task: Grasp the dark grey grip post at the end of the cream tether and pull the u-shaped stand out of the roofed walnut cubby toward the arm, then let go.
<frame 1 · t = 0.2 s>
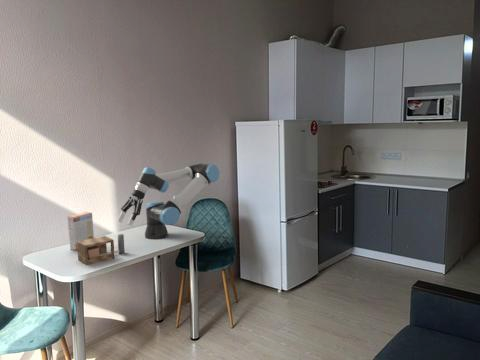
hand: (124, 223, 251), 16 cm above the table, fingers open, 13 cm apart
cubby: (96, 259, 236), on the table
cracker box: (82, 247, 259), on the table
u-shaped stand: (92, 260, 234), on the table
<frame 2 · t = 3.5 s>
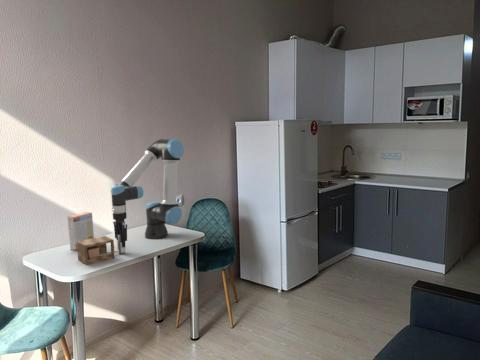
hand: (121, 251, 245), 1 cm above the table, fingers closed on u-shaped stand, 3 cm apart
u-shaped stand: (92, 260, 234), on the table, touching gripper
everything else where it was.
when the fingers open (1 cm above the table, at t = 7.1 s): u-shaped stand stays where it is, on the table.
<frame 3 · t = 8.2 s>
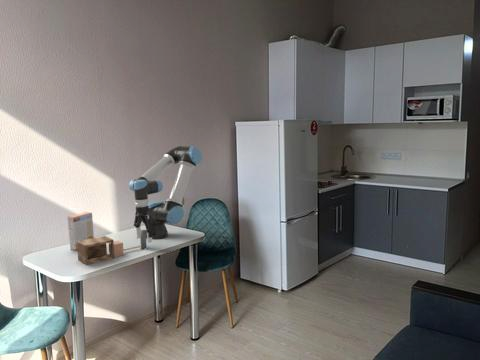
hand: (144, 240, 255), 5 cm above the table, fingers open, 13 cm apart
u-shaped stand: (116, 254, 244), on the table
everything else where it was.
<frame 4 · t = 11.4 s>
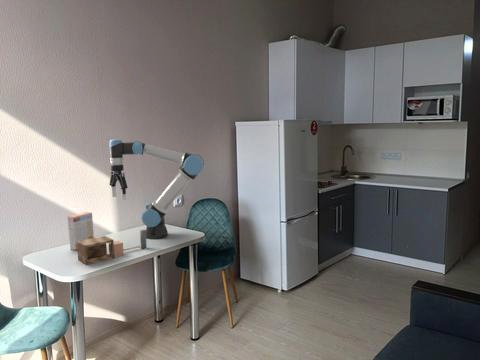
hand: (119, 198, 264), 29 cm above the table, fingers open, 13 cm apart
nothing on the table moved.
at the end: u-shaped stand inside the target area (5.2 cm from its centre), on the table; u-shaped stand tilted 0°; the gripper is holding nothing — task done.
